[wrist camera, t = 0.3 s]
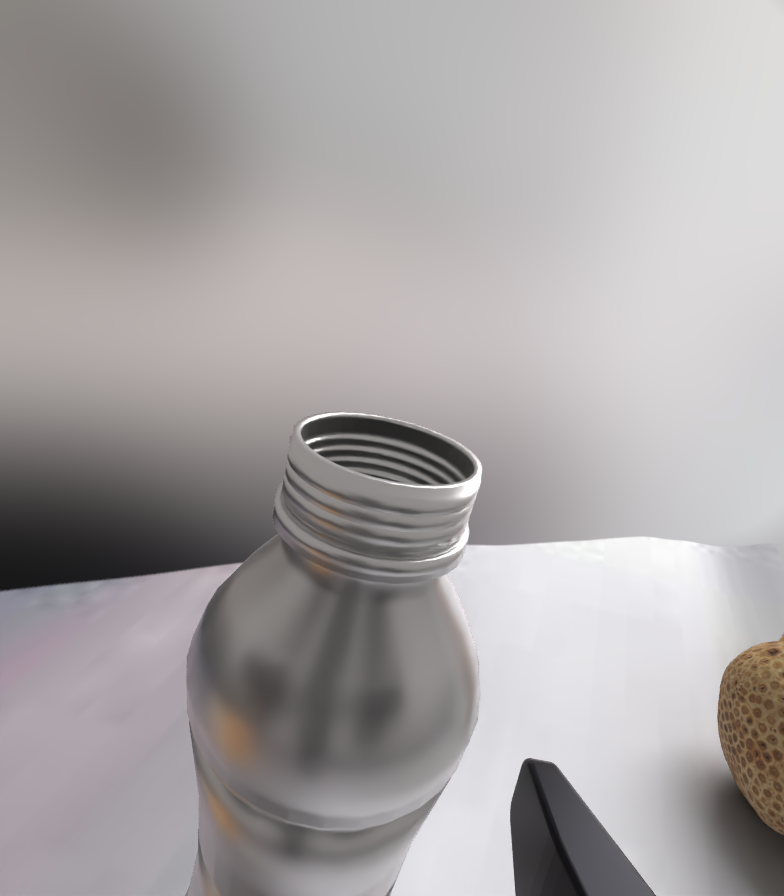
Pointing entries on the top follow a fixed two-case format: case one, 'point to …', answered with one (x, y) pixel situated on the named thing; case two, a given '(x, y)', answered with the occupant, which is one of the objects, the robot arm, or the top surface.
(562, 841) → the robot arm
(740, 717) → the natural sponge
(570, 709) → the top surface
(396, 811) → the plastic bottle
